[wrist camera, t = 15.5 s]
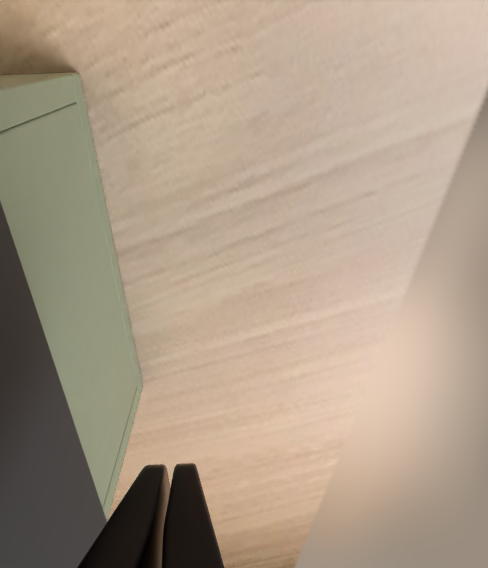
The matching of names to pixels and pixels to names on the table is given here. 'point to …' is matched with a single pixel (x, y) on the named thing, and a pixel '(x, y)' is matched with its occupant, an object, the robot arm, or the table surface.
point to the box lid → (37, 439)
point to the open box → (70, 261)
